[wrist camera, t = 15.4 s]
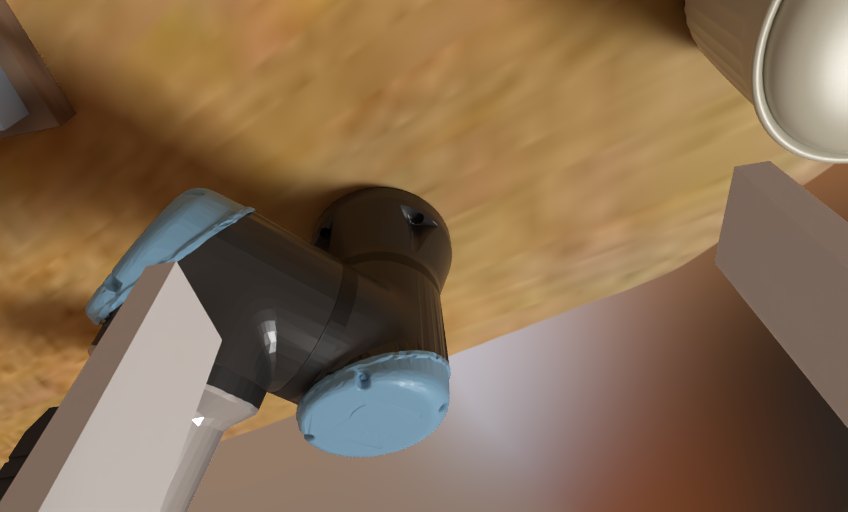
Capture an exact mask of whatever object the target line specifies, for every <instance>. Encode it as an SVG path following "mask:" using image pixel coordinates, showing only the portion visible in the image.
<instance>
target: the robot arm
mask: <svg viewBox="0 0 848 512" xmlns="http://www.w3.org/2000/svg"><path fill="white" fill-rule="evenodd" d="M451 260H452V249H451V241H450V235H449V231H448V228H447V226H446V224H445V222H444V220H443V219H442V217H441V216H440V214H439V213H438V212H437V211H436V210H435V209H434V208H433V207H432V206H431V205H430V204H429V203H427V202H426V201H424V200H423V199H421V198H419V197H417V196H415V195H413V194H411V193H408V192H405V191H401V190H397V189H390V188H370V189H364V190H360V191H356V192H353V193H350V194H348V195H346V196H344V197H342V198H340V199H338V200H337V201H335V202H334V203H333V204H332V205H330V206H329V207H328V208H327V209H326V210H325V211H324V213H323V214H322V215H321V217H320V218H319V220H318V222H317V224H316V226H315V229H314V233H313V237H312V242H311V243H309V242H307V241H306V240H304V239H302V238H300V237H299V236H297V235H295V234H294V233H292V232H290V231H288V230H287V229H285V228H283V227H281V226H280V225H278V224H276V223H275V222H273V221H271V220H269V219H268V218H266V217H264V216H262V215H261V214H259V213H257V212H256V211H255V209H254V208H253V207H250V206H247V207H245V206H243V205H241V204H239V203H237V202H235V201H233V200H231V199H229V198H227V197H225V196H223V195H221V194H219V193H217V192H215V191H213V190H211V189H207V188H193V189H189V190H187V191H184V192H183V193H181V194H180V195H178V196H177V197H176V198H175V199H174V200H173V201H172V202H171V203H170V204H169V205H168V206H167V207H166V208H165V209H164V210H163V211H162V212H161V213H160V214H159V215H158V216H157V217H156V219H155V220H154V221H153V222H152V223H151V224H150V225H149V226H148V227H147V229H146V230H145V231H144V232H143V233H142V234H141V235H140V237H139V238H138V239H137V240H136V241H135V242H134V244H133V245H132V246H131V247H130V248H129V250H128V251H127V252H126V253H125V255H124V256H123V257H122V258H121V259H120V261H119V262H118V263H117V265H116V266H115V267H114V268H113V270H112V273H111V274H110V275H108V277H107V278H106V280H105V281H104V282H103V284H102V285H101V286H100V287H99V288H98V289H97V290H96V292H95V293H94V295H93V296H92V297H91V299H90V300H89V302H88V304H87V306H86V309H85V312H86V316H87V317H88V318H90V319H91V321H92V323H93V324H96V325H98V326H99V325H100V324H103V326H102V328H101V330H100V331H99V333H98V334H97V336H96V338H95V339H94V341H93V342H92V344H91V346H90V347H89V349H88V353H89V356H90V357H89V359H88V361H87V362H86V364H85V366H84V367H83V369H82V370H81V372H80V374H79V375H78V377H77V378H76V380H75V382H74V383H73V385H72V387H71V388H70V390H69V391H68V393H67V395H66V396H65V398H64V399H63V401H62V403H61V404H60V406H58V407H52V408H49V409H48V410H47V411H46V412H45V413H44V414H43V415H42V416H41V417H40V418H39V419H38V420H37V421H36V422H35V423H34V424H33V425H32V426H31V427H30V428H29V429H28V430H27V431H26V432H25V433H24V435H23V436H22V438H21V439H20V441H19V442H18V444H17V445H16V447H15V448H14V450H13V452H12V453H11V455H10V456H9V462H7V463H5V464H4V465H3V467H2V468H1V470H0V512H187V510H188V508H189V506H190V504H191V502H192V500H193V497H194V495H195V493H196V491H197V489H198V487H199V484H200V482H201V480H202V478H203V476H204V474H205V472H206V470H207V467H208V465H209V463H210V461H211V459H212V457H213V454H214V452H215V450H216V448H217V446H218V444H219V442H220V440H221V438H222V435H223V433H224V432H225V431H226V430H227V429H229V428H230V427H231V426H233V425H235V424H237V423H239V422H242V421H244V420H246V419H248V418H250V417H252V416H254V415H256V414H257V412H258V410H259V408H260V406H261V404H262V401H263V399H264V397H265V395H266V392H268V393H271V394H274V395H276V396H278V397H281V398H283V399H286V400H288V401H290V402H293V403H295V404H297V405H298V407H297V412H296V419H297V421H298V425H299V429H300V431H301V432H302V433H303V434H304V437H305V439H306V440H307V441H308V442H309V443H310V444H311V445H313V446H314V447H316V448H318V449H320V450H322V451H325V452H328V453H331V454H334V455H339V456H346V457H372V456H380V455H383V454H388V453H393V452H397V451H400V450H403V449H405V448H408V447H410V446H412V445H414V444H416V443H418V442H420V441H421V440H423V439H424V438H426V437H427V436H429V435H430V434H431V433H432V432H433V431H434V430H435V429H436V428H437V427H438V426H439V425H440V423H441V422H442V420H443V419H444V417H445V415H446V413H447V410H448V406H449V379H450V374H451V373H450V366H449V361H448V353H447V346H446V338H445V331H444V323H443V316H442V308H441V301H440V294H441V291H442V289H443V286H444V283H445V281H446V278H447V276H448V273H449V270H450V266H451ZM714 263H715V264H716V265H717V266H718V267H719V268H720V270H721V271H722V272H723V274H724V275H725V276H726V277H727V279H728V280H729V281H730V282H731V284H732V285H733V286H734V287H735V289H736V290H737V291H738V292H739V294H740V295H741V296H742V297H743V298H744V300H745V301H746V302H747V303H748V305H749V306H750V307H751V309H752V310H753V311H754V312H755V313H756V315H757V316H758V317H759V318H760V320H761V321H762V322H763V323H764V325H765V326H766V327H767V328H768V330H769V331H770V332H771V333H772V335H773V336H774V337H775V338H776V340H777V341H778V342H779V343H780V345H781V346H782V347H783V348H784V349H785V351H786V352H787V353H788V354H789V356H790V357H791V358H792V359H793V361H794V362H795V363H796V364H797V366H798V367H799V368H800V369H801V370H802V372H803V373H804V374H805V375H806V377H807V378H808V379H809V380H810V382H811V383H812V384H813V385H814V387H815V388H816V389H817V390H818V392H819V393H820V394H821V395H822V397H823V398H824V399H825V400H826V402H827V403H828V404H829V405H830V407H831V408H832V409H833V410H834V411H835V413H836V414H837V415H838V416H839V418H840V419H841V420H842V421H843V423H844V424H845V425H846V426H847V427H848V222H846V221H845V220H844V219H843V218H841V217H840V216H839V215H838V214H836V213H835V212H834V211H833V210H831V209H830V208H829V207H827V206H826V205H825V204H823V203H822V202H821V201H820V200H818V199H817V198H816V197H815V196H813V195H812V194H811V193H810V192H808V191H807V190H806V189H805V188H803V187H802V186H801V185H800V184H798V183H797V182H796V181H794V180H793V179H792V178H791V177H789V176H788V175H787V174H786V173H784V172H783V171H782V170H780V169H779V168H778V167H777V166H775V165H774V164H773V163H772V162H770V161H766V162H760V163H754V164H749V165H743V166H737V167H734V172H733V176H732V181H731V186H730V191H729V195H728V200H727V205H726V210H725V214H724V219H723V224H722V228H721V233H720V238H719V243H718V247H717V252H716V257H715V261H714Z"/></svg>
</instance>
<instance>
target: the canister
mask: <svg viewBox="0 0 848 512" xmlns="http://www.w3.org/2000/svg"><path fill="white" fill-rule="evenodd" d="M684 11H685V14H686V17H687V19H686V23H687V26H688V27H689V29H690V33H691V36H692V38H693V40H694V41H695V42H696V43H697V46H698V48H699V49H700V51H701V52H702V53H703V54H704V55H705V56H706V57H707V59H708V60H709V61H710V62H711V63H712V64H713V65H714V66H715V67H716V68H717V69H718V70H719V72H720V73H721V74H722V75H723V76H724V77H725V78H726V79H727V80H728V81H729V82H730V83H731V84H732V85H733V86H734V87H735V88H736V89H737V90H738V91H739V92H740V93H741V94H742V95H744V96H745V97H746V98H747V99H748V100H749V101H750V102H751V103H752V104H753V105H754V108H755V111H756V114H757V116H758V119H759V121H760V123H761V124H762V126H763V128H764V129H765V130H766V132H767V133H768V134H769V136H770V137H771V138H772V139H773V140H774V141H775V142H777V143H778V144H779V145H780V146H782V147H783V148H785V149H786V150H788V151H789V152H791V153H793V154H795V155H798V156H800V157H803V158H806V159H809V160H813V161H818V162H825V163H848V0H685V7H684Z"/></svg>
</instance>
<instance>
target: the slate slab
mask: <svg viewBox="0 0 848 512" xmlns="http://www.w3.org/2000/svg"><path fill="white" fill-rule="evenodd" d="M28 114H30V113H29V112H28V110H27V108H26V107H25V105H24V103H23V102H22V100H21V98H20V97H19V95H18V94H17V92H16V90H15V89H14V87H13V85H12V84H11V82H10V80H9V79H8V77H7V76H6V74H5V72H4V71H3V69H2V67H1V66H0V131H2V130H6V129H7V128H9V127H10V126H12V125H13V124H15V123H16V122H18V121H19V120H21V119H22V118H24V117H25V116H27V115H28Z"/></svg>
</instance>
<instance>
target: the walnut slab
mask: <svg viewBox="0 0 848 512" xmlns="http://www.w3.org/2000/svg"><path fill="white" fill-rule="evenodd" d="M0 66H1V67H2V69H3V71H4V72H5V74H6V76H7V77H8V79H9V80H10V82H11V84H12V85H13V87H14V89H15V90H16V92H17V94H18V95H19V97H20V98H21V100H22V102H23V103H24V105H25V107H26V108H27V110H28V112H29V113H30V114H28V115H27V116H25V117H24V118H22V119H21V120H19V121H18V122H16V123H15V124H13V125H12V126H10V127H9V128H7V129H6V130H2V131H0V139H1V138H6V137H11V136H16V135H21V134H25V133H30V132H35V131H40V130H45V129H49V128H54V127H59V126H61V125H62V124H64V123H65V122H66V121H68V120H69V119H70V118H71V117H73V116H74V115H75V112H74V110H73V109H72V107H71V105H70V104H69V102H68V101H67V99H66V97H65V96H64V94H63V93H62V91H61V89H60V88H59V86H58V84H57V83H56V81H55V80H54V78H53V76H52V75H51V73H50V71H49V70H48V68H47V67H46V65H45V63H44V62H43V60H42V58H41V57H40V55H39V54H38V52H37V50H36V49H35V47H34V46H33V44H32V42H31V41H30V39H29V37H28V36H27V34H26V33H25V31H24V29H23V28H22V26H21V24H20V23H19V21H18V20H17V18H16V16H15V15H14V13H13V11H12V10H11V8H10V7H9V5H8V3H7V2H6V0H0Z"/></svg>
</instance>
